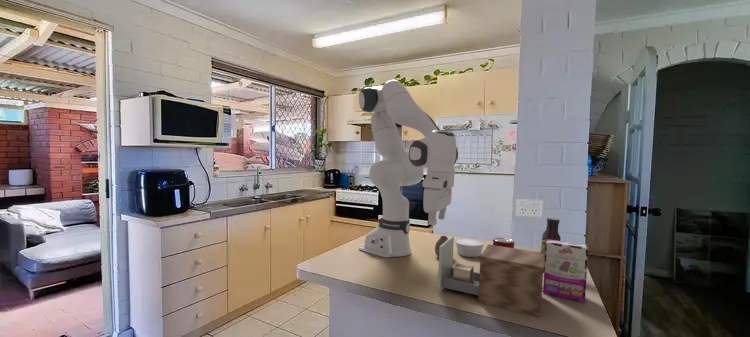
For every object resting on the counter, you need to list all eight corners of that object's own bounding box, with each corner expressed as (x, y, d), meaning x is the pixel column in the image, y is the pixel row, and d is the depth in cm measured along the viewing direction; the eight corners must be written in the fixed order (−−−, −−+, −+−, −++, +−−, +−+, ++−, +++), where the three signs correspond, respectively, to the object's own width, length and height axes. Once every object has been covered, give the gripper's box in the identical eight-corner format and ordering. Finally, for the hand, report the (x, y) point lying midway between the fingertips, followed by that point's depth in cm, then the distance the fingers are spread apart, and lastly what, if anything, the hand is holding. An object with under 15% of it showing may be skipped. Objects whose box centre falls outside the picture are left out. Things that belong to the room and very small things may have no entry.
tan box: (478, 302, 93) (480, 256, 92) (486, 284, 105) (488, 244, 105) (540, 317, 85) (543, 267, 85) (541, 296, 98) (543, 253, 97)
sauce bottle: (536, 270, 120) (539, 217, 119) (541, 266, 124) (544, 215, 123) (556, 275, 115) (559, 220, 114) (560, 271, 120) (563, 218, 119)
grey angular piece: (437, 288, 99) (439, 246, 98) (449, 273, 111) (451, 236, 110) (489, 300, 91) (491, 255, 91) (496, 283, 104) (498, 243, 103)
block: (469, 286, 99) (470, 270, 98) (453, 283, 101) (453, 267, 101) (472, 281, 103) (473, 265, 103) (457, 277, 105) (457, 262, 105)
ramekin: (450, 253, 138) (450, 241, 137) (464, 248, 145) (464, 236, 145) (473, 260, 129) (474, 247, 129) (487, 254, 137) (488, 242, 137)
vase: (433, 258, 129) (434, 237, 129) (436, 254, 136) (436, 233, 135) (450, 261, 127) (451, 239, 127) (452, 256, 133) (453, 235, 133)
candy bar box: (584, 297, 99) (588, 244, 98) (585, 303, 94) (589, 248, 93) (543, 287, 104) (546, 238, 103) (542, 293, 100) (545, 241, 99)
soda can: (514, 277, 113) (516, 243, 112) (492, 274, 114) (494, 241, 114) (510, 269, 120) (512, 238, 119) (489, 267, 121) (491, 236, 121)
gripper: (439, 176, 115) (437, 214, 116) (420, 182, 97) (417, 226, 98) (457, 178, 112) (454, 217, 114) (441, 184, 94) (438, 230, 95)
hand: (437, 222), depth 106 cm, fingers open, 8 cm apart
